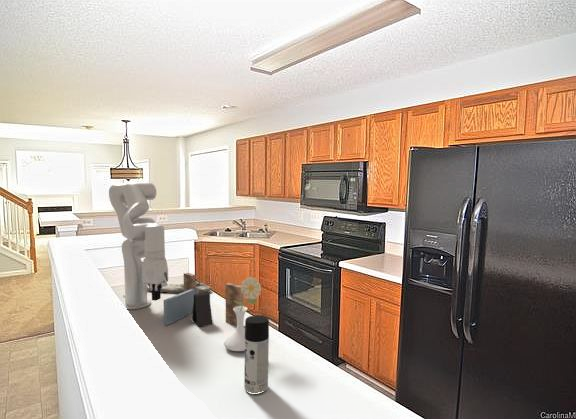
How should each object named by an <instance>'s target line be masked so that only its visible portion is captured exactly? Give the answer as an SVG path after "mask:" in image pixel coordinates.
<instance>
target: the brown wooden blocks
mask: <svg viewBox="0 0 576 419" xmlns="http://www.w3.org/2000/svg"><path fill="white" fill-rule="evenodd" d="M196 279H197V275H196V274H194V273H190V272H183V284H184V292H185V291H188V290H190V289H193V288H195V287H196V281H197V280H196ZM241 286H242V285H241V284H240V285H239V284H235V283H231V282H227V283H225V323H229V324H232V325H234V326H237V317H236V313H235V312H234V310H233V308H235V307H238V306H242V304H244V295H243V294H242V292H241ZM234 300H235V301H236V302H240V303H242V304H238V303H235V302H234Z"/></svg>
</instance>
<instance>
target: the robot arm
mask: <svg viewBox="0 0 576 419" xmlns="http://www.w3.org/2000/svg"><path fill="white" fill-rule="evenodd" d="M156 197H157V188H156V186H155V184H153V182H148V181H146V182H145V181H142V182H141V181H133V182H132V181H130V182H128V183H127V182H126V183H125V182H122V183H114V184H112V185H111V186H110V187H109V189H108V198H109V202H110V204H111V206H112V208H113V210H114V211H115V213H116V216H117V221H118V224H119V228H120V229H119V230H120V233H121V235H122V236H123V237H124V238H126V239H124V241H123V242H122V244H121V253H122V259H123V266H124V271H123V272H124V295H123V297H122V298H124V301H123V302H122V303H123V304H124V305H125V307H126V308H127V309H126V310H138V309H139V310H140V309H142V308H146V307H149V306H150V305H151V304H152V301H159V300H160V299H161V298H162V297H161V292H160V290H161V289H162V287H165V286H167V284H168V281H169V269H168V268H169V267H168V262H167V258H166V248H165V247H166V246H165V244H166V243H165V226H164V225H163V224H160V223H157V222H156V221H155V219H154V218H152V217H142V216H143V215H145V214H146V213H147V212H148V211H149V209H150V204H149V202H148V201H153V200H155V199H156ZM142 260H143V261H142ZM147 285H148V286H149V287H150V290H151V299H149V298H148V291H147Z"/></svg>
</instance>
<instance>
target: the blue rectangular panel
mask: <svg viewBox="0 0 576 419" xmlns="http://www.w3.org/2000/svg"><path fill="white" fill-rule="evenodd" d="M194 294H199V293H198V287H195V288H193V289H190V290H188V291H185V292H183V293H177V294H176V295H173V296H170V297H169V298H166V299H164V300H163V325H165V326H168V325H170V324H172V323H174V322H176V321H177V320H180V319H182V318H184V317H186V316H188V315H190V314H192V312H193V303H194Z"/></svg>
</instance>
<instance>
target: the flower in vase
mask: <svg viewBox="0 0 576 419" xmlns="http://www.w3.org/2000/svg"><path fill="white" fill-rule="evenodd" d="M240 286H241V292H242V294H243V298H245V300H244V301H243V304H242V303H240V302H236V301H235V300H234V302H235V303H238V304H242V306H238V307H235V308H233V310H234V312H235V313H236V317H237V325H236V328H235V330H234V331H233V332H232V333H230V334H228V336H227V337H226V338H225V339H224V341H223V346H224V347H225V348H226V349H227V350H229V351H233V352H245V324H244V321H245V320H244V318H245V316H246V315H245V314H246V312H247V311H248V307H246V306H245V304H246V302H247V303H248V304H249V305H255V304H256V303H257V302H258V300H257V297H259V296H260V295H261V294H262V293H261V292H262V285H261V284H260V282H259V281H258V279H257V278H256V277H254V276H252V277H250V276H247V277H246V278H245V279H243V281H241V284H240Z"/></svg>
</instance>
